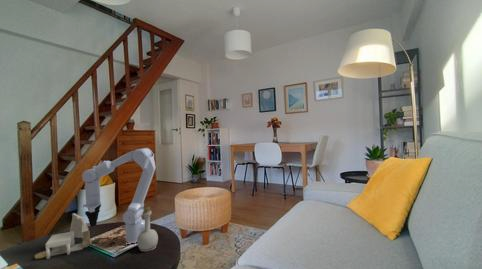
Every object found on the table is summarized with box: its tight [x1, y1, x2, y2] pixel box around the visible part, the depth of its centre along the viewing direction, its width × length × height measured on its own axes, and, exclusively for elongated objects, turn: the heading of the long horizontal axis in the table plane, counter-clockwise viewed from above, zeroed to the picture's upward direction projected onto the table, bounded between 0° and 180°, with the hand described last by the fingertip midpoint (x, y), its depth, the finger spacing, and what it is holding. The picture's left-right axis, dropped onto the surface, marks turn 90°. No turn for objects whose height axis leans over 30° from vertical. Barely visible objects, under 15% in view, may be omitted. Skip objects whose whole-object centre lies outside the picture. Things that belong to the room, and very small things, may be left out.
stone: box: [69, 212, 89, 239], centre depth 116 cm, size 10×5×12 cm, turn 65°
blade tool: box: [50, 230, 91, 257], centre depth 101 cm, size 14×5×6 cm, turn 118°
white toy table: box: [45, 231, 75, 260], centre depth 100 cm, size 8×10×6 cm
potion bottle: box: [136, 206, 159, 253], centre depth 101 cm, size 9×9×18 cm
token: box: [34, 250, 46, 260], centre depth 97 cm, size 5×5×1 cm
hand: (94, 223), depth 107 cm, fingers open, 7 cm apart
